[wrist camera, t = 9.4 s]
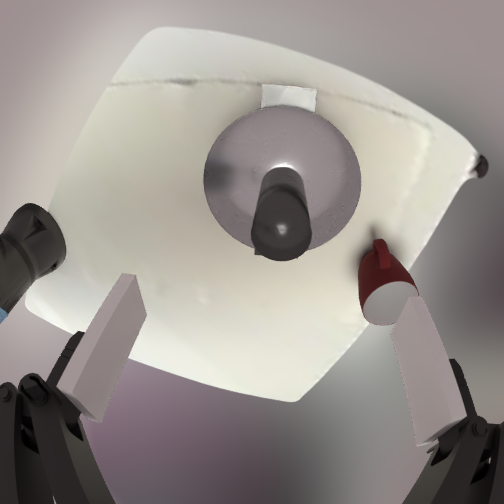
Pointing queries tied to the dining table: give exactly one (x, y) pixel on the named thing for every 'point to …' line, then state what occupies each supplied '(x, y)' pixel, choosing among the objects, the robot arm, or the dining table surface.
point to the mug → (383, 285)
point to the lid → (282, 181)
